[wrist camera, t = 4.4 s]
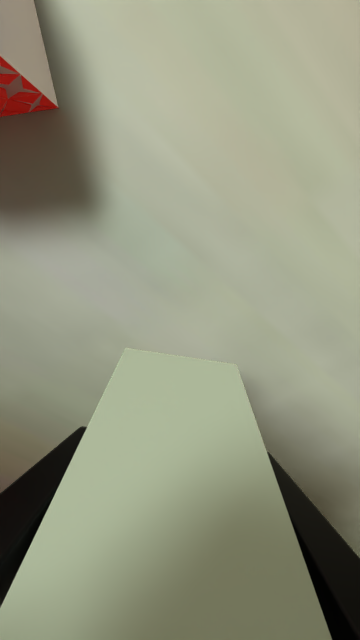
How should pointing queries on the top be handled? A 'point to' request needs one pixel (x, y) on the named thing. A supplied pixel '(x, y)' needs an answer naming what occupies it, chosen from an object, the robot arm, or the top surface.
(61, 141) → the top surface
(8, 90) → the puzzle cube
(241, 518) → the tile
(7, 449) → the top surface
